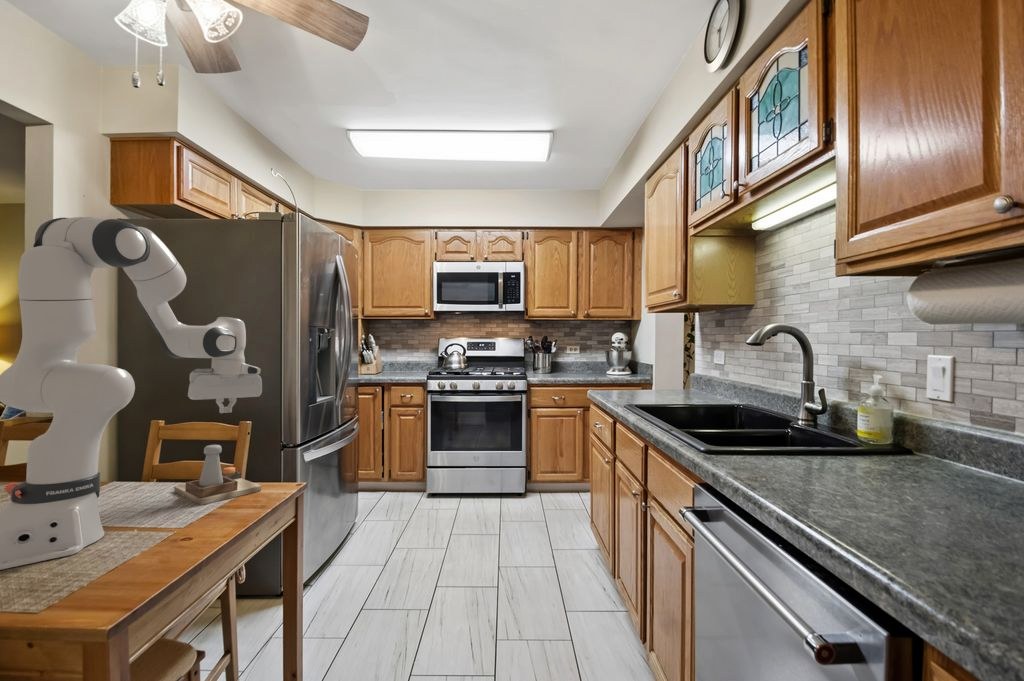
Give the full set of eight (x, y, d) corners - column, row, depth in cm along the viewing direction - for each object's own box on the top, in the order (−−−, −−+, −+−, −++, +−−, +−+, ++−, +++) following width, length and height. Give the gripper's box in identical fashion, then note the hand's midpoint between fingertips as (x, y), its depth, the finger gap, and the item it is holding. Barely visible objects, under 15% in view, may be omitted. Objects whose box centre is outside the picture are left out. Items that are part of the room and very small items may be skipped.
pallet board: (200, 505, 122) (201, 490, 122) (174, 491, 132) (174, 477, 132) (261, 490, 135) (261, 477, 135) (232, 479, 146) (233, 466, 146)
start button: (225, 478, 140) (226, 470, 140) (221, 476, 141) (221, 468, 141) (236, 476, 142) (237, 468, 142) (231, 474, 144) (232, 466, 144)
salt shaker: (202, 495, 126) (204, 448, 126) (195, 490, 129) (197, 445, 129) (226, 490, 130) (228, 445, 130) (218, 486, 134) (220, 442, 134)
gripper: (194, 369, 132) (191, 416, 131) (265, 368, 148) (263, 411, 148) (185, 368, 135) (182, 414, 135) (256, 368, 152) (253, 409, 151)
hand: (225, 412), depth 141 cm, fingers closed
